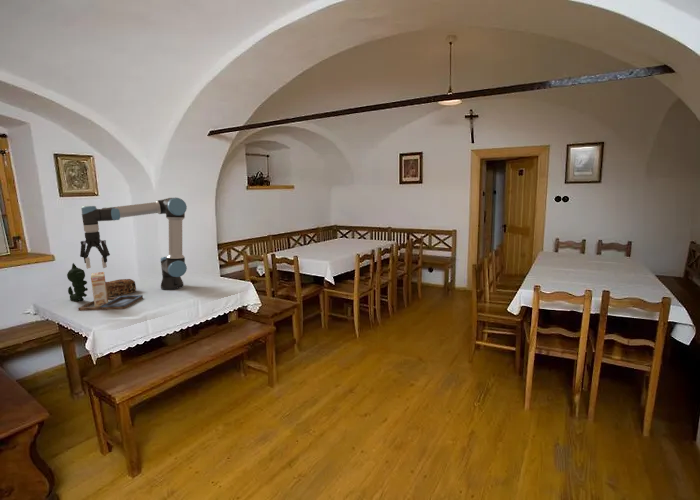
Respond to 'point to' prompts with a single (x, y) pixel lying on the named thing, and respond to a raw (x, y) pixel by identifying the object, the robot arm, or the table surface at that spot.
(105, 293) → the coffeecake box
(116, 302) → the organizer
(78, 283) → the toy figurine
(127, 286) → the bread
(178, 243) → the robot arm
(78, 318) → the table surface
